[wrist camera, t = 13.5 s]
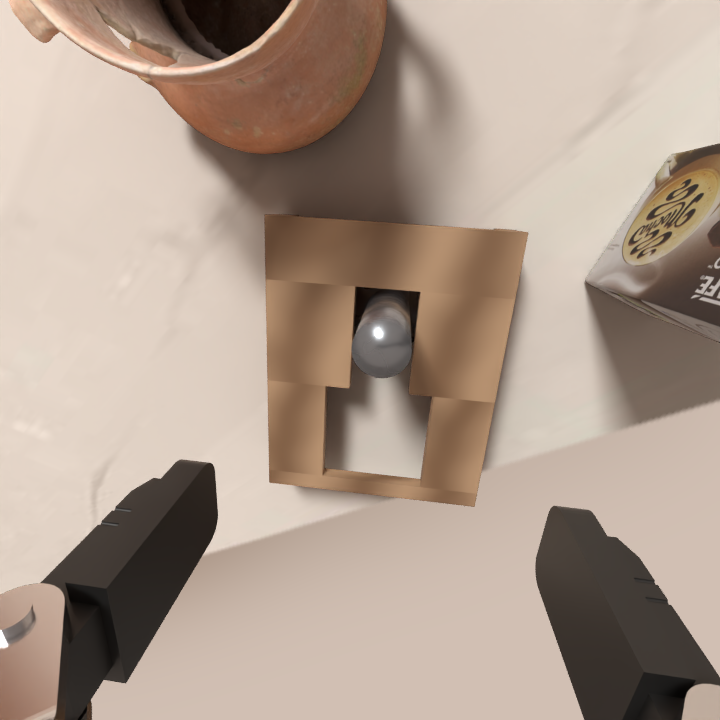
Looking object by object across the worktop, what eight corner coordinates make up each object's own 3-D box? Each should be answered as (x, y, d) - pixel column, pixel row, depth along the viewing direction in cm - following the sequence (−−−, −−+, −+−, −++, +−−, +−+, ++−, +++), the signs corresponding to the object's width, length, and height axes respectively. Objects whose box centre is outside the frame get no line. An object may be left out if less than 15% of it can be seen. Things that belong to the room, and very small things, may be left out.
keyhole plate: (511, 229, 28) (528, 232, 24) (466, 475, 35) (474, 506, 31) (282, 214, 29) (264, 214, 25) (283, 454, 36) (269, 482, 32)
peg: (434, 265, 29) (451, 294, 19) (424, 345, 31) (434, 410, 21) (351, 259, 30) (323, 284, 19) (347, 338, 32) (320, 398, 21)
